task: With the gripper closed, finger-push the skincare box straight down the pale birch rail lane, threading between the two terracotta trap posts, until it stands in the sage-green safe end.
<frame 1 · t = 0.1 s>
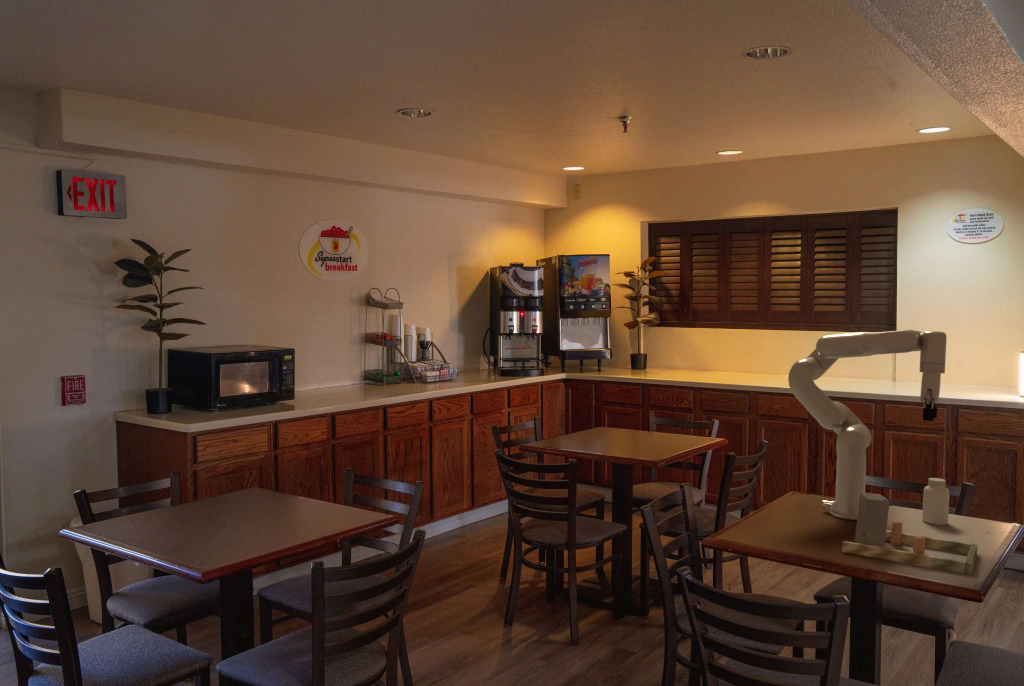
hand: (929, 419, 269), 37 cm above the table, tool pointing down, fingers open, 9 cm apart
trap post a: (895, 544, 249), on the table
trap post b: (918, 561, 233), on the table
skincare box: (870, 547, 247), on the table
lane: (906, 552, 241), on the table
pill bottle: (934, 522, 278), on the table
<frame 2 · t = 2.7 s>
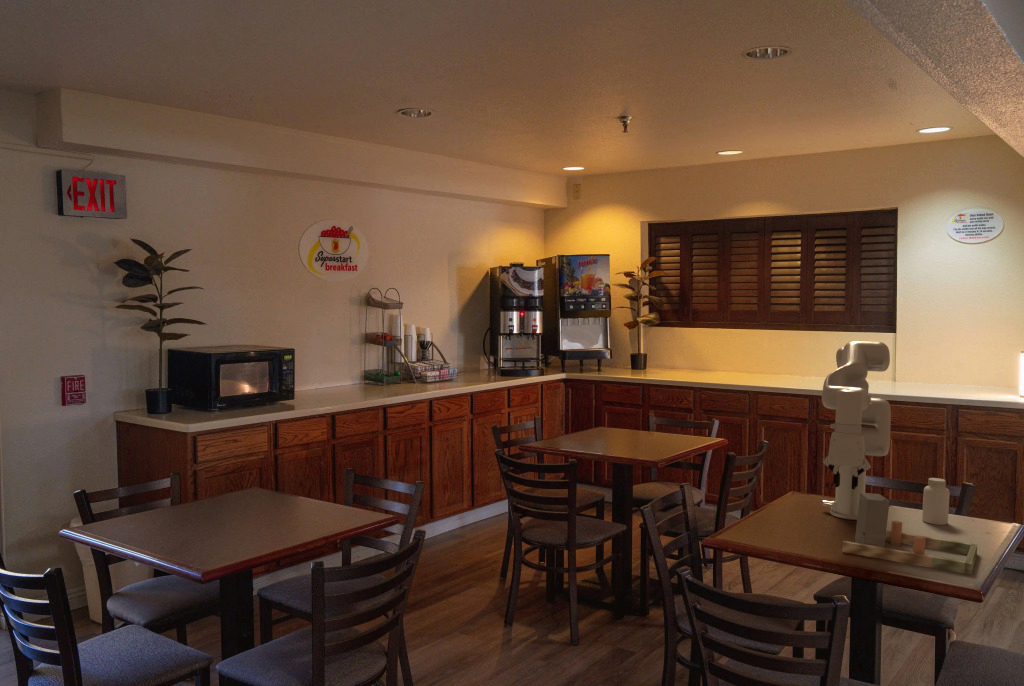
hand: (845, 486, 250), 17 cm above the table, tool pointing down, fingers open, 4 cm apart
nothing on the table moved.
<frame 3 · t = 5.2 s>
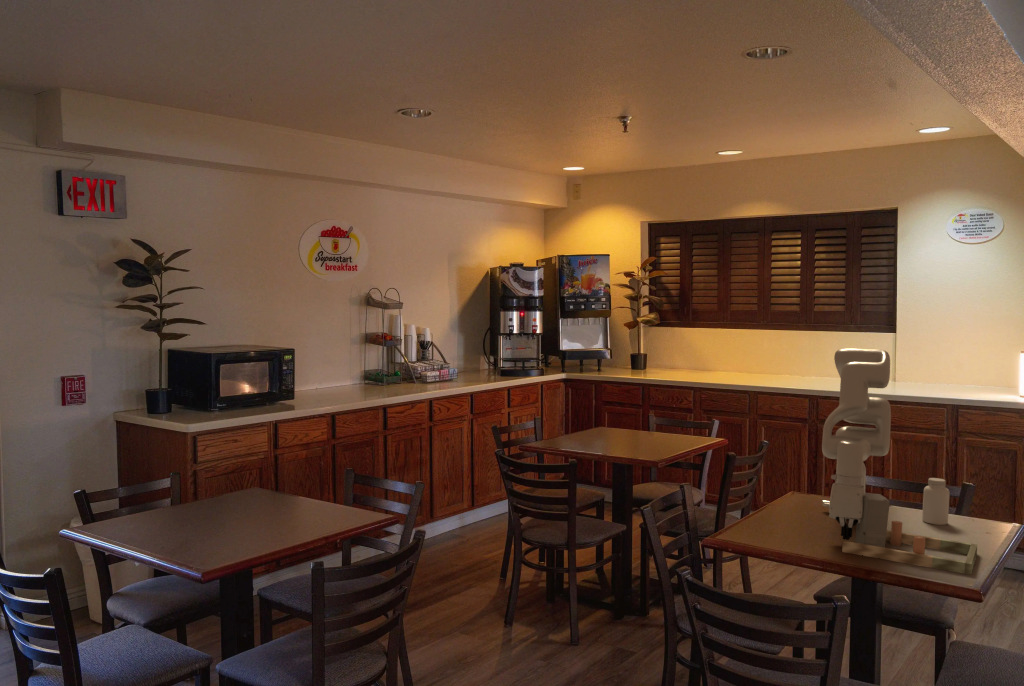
hand: (846, 538, 250), 1 cm above the table, tool pointing down, fingers closed
skincare box: (871, 547, 246), on the table, touching gripper
everything else where it was.
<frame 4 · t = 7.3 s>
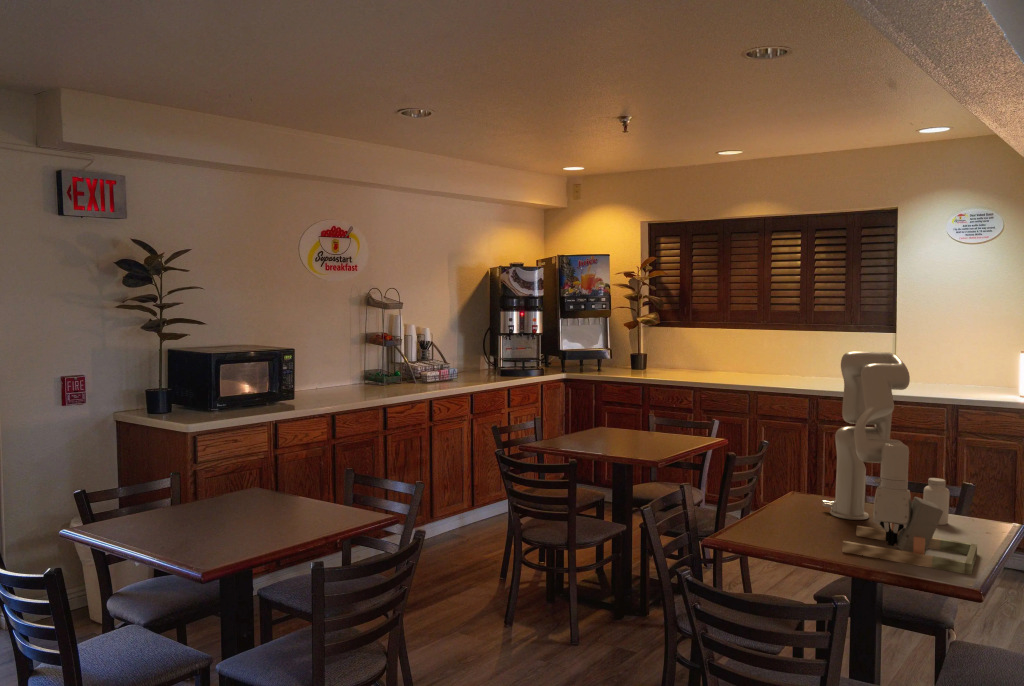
hand: (891, 544, 243), 2 cm above the table, tool pointing down, fingers closed
skincare box: (909, 552, 239), point 1 cm above the table, touching gripper
everything else where it was.
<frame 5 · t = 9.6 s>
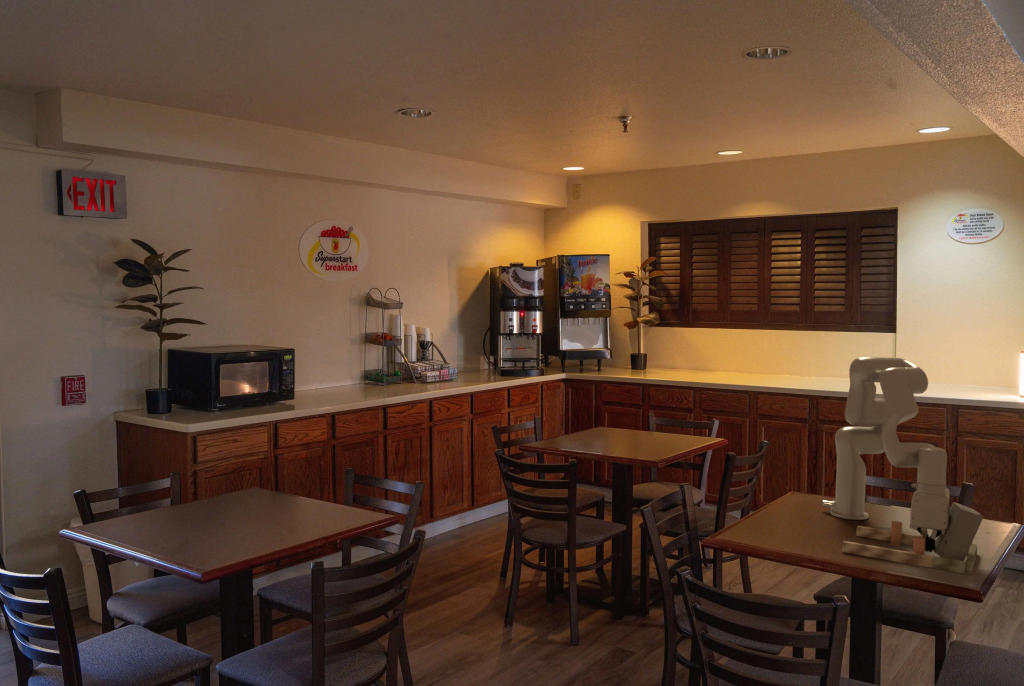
hand: (928, 550, 237), 2 cm above the table, tool pointing down, fingers closed
skincare box: (947, 559, 234), point 1 cm above the table, touching gripper
everything else where it was.
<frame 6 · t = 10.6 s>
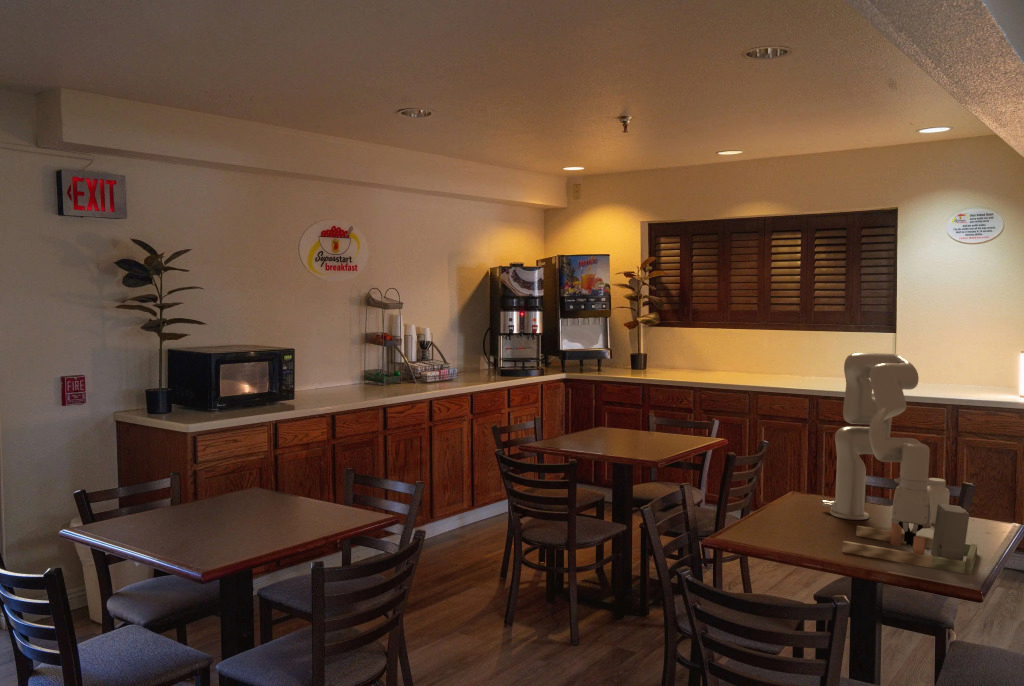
hand: (909, 544, 241), 2 cm above the table, tool pointing down, fingers closed
skincare box: (947, 561, 234), on the table
everything else where it was.
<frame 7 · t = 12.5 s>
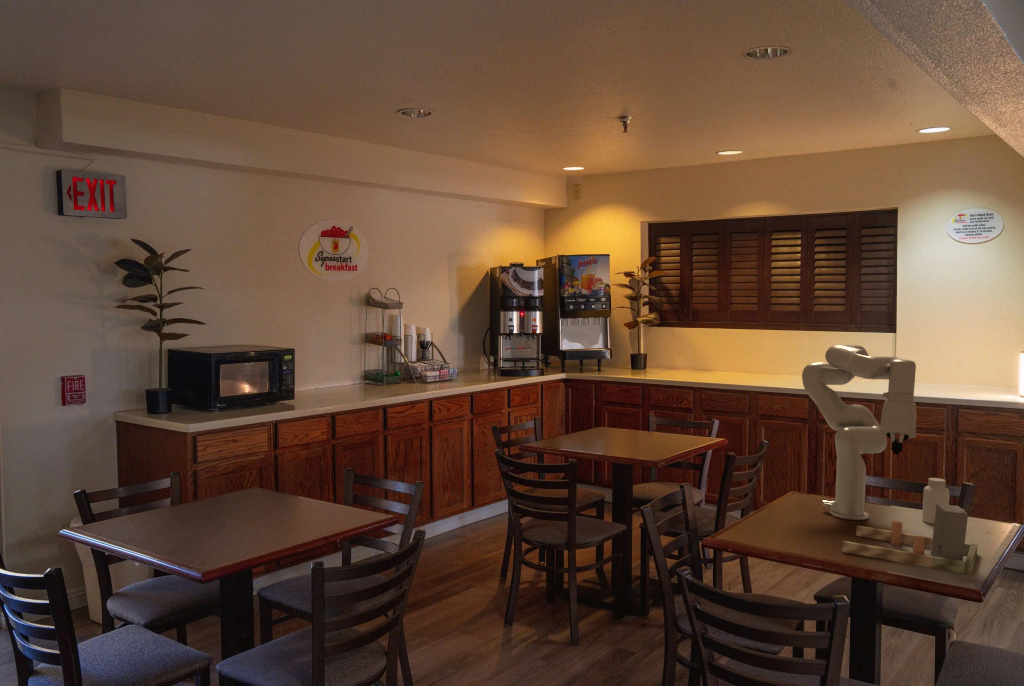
hand: (896, 453, 261), 26 cm above the table, tool pointing down, fingers closed
nothing on the table moved.
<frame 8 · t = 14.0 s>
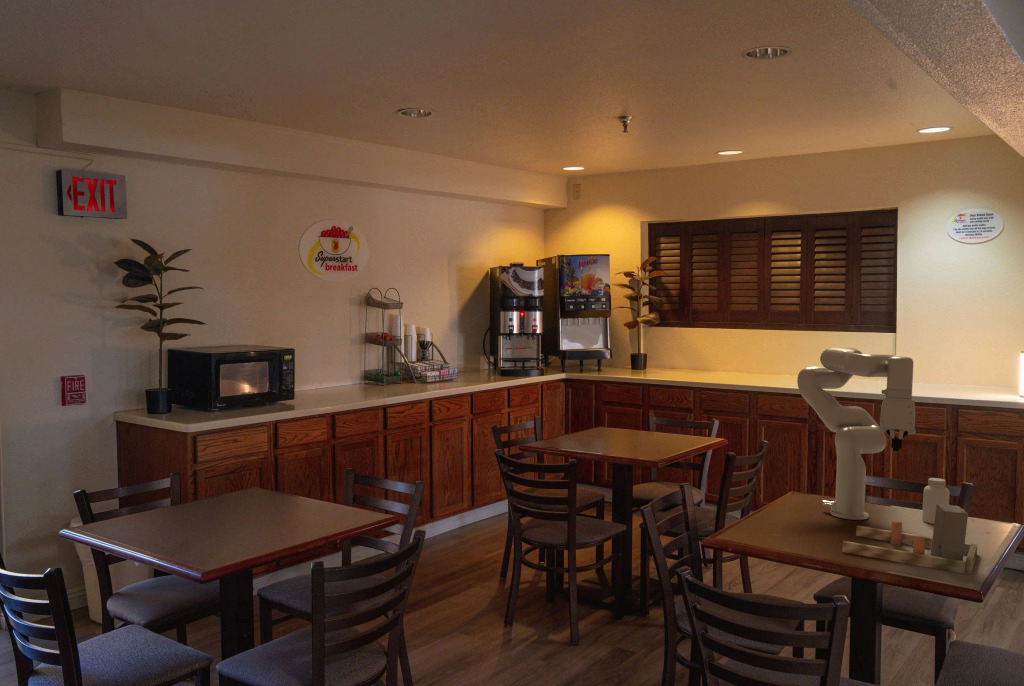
hand: (896, 450, 262), 27 cm above the table, tool pointing down, fingers closed
nothing on the table moved.
at the end: skincare box inside the target area (1.4 cm from its centre), on the table; skincare box tilted 0°; skincare box touching table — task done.
